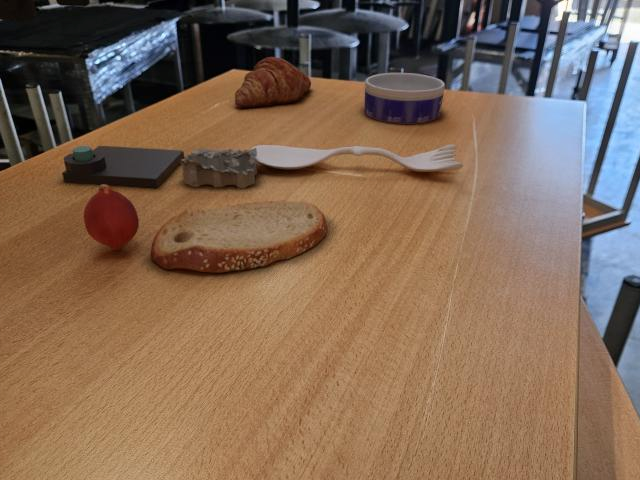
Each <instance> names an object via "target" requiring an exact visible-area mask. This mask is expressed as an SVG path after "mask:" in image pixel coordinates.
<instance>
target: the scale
mask: <svg viewBox="0 0 640 480" xmlns="http://www.w3.org/2000/svg"><path fill="white" fill-rule="evenodd" d="M92 152H93V157H94V158H93V159H90V160H86V161H75V158H74V154H73V152H71V153H69V154H67V155H65V156H64V157H63V163H64V167H65V170H64V171H63V172H62V173H61V174H62V178H63V183H74V184H88V185H89V184H90V185H103V184H105V185H108V186H117V187H118V186H120V187H132V188H133V187H135V188H149V189H150V188H151V189H158V188H159V187H160V186H161V185H162V184H163V183H164V182H165V181H166V179H167V178H168V177H170V175H171V174H172V173H173V172H174V171H175V170H176V169H178V167H179V166H180V165H181V163H180V159H185V152H184V150H180V149H163V148H146V147H145V148H144V147H130V146H129V147H128V146H127V147H126V146H110V145H98V146H96V147H95V148H93V149H92Z"/></svg>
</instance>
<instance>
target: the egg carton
mask: <svg viewBox="0 0 640 480" xmlns="http://www.w3.org/2000/svg"><path fill="white" fill-rule="evenodd" d="M256 156H257V149H256V148H254V149H251V148H250V149H244V150H240V149H237V150H236V151H235V150H233V148H229V149H225V150H224V149H217V150H212V149H210V148H205V147H199V148H196V149H194V150H193V151H191V152H190V153H188V154H187V155H186V157H184V159H180V165H181V168H182V174H183V175H182V176H183V182H184V185H189V186H190V187H191V188H199V187H201V186H203V185H211V186H213V187H214V188H223V187H225V186H230V185H231V186H236V187H237V188H239V189H245V188H247V187H249V186H252V185H254V184H255V183H256V179H255V176H256V175H257V174H258V167H257V166H258V165H257V161H256Z"/></svg>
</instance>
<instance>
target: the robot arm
mask: <svg viewBox="0 0 640 480" xmlns="http://www.w3.org/2000/svg"><path fill="white" fill-rule="evenodd" d="M55 1H56V4H58V5H59V6H61V7H63V6H64V7H65V6H66V7H67V6H68V7H87V6H89V5H90V4H91V3H90V2H91V1H90V0H55ZM37 19H38V13H37V9H36V5H35V0H0V20H1V21H6V22H7V21H8V22H34V21H37Z"/></svg>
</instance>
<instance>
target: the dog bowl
mask: <svg viewBox="0 0 640 480" xmlns="http://www.w3.org/2000/svg"><path fill="white" fill-rule="evenodd" d="M445 88H446V84H445V82H444V81H443V80H442V79H439V78H437V77H434V76H431V75H426V74H421V73H411V72H385V73H384V72H383V73H377V74H374V75H371V76H368V77H367V78H366V79H365V81H364V112H365V115H366V116H368V117H370V118H372V119H373V120H377V121H380V122H386V123H391V124H403V125H412V124H424V123H430V122H433V121H436V120H437V119H439V118H440V117H441V112H442V108H443V107H442V106H443V102H444V101H443V100H444V94H445Z"/></svg>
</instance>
